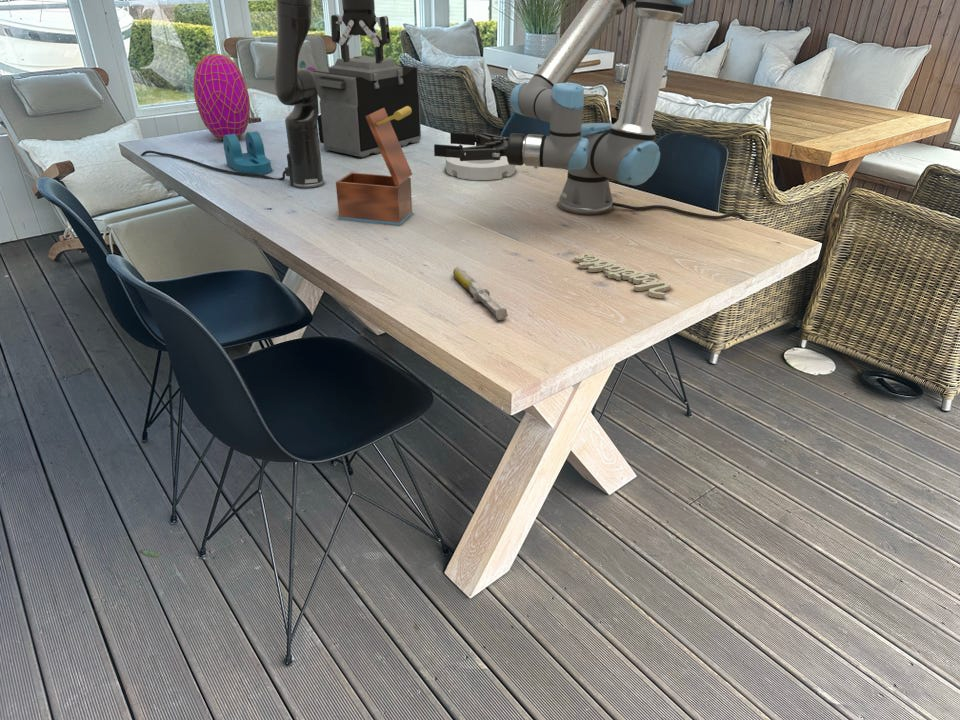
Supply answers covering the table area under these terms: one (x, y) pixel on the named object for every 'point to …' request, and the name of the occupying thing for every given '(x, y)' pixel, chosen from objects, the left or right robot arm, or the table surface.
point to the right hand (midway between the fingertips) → (442, 143)
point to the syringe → (479, 293)
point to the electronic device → (365, 103)
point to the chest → (373, 199)
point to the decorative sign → (625, 274)
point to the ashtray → (479, 168)
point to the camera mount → (246, 154)
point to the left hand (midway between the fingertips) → (362, 62)
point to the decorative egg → (221, 96)
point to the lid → (390, 142)
